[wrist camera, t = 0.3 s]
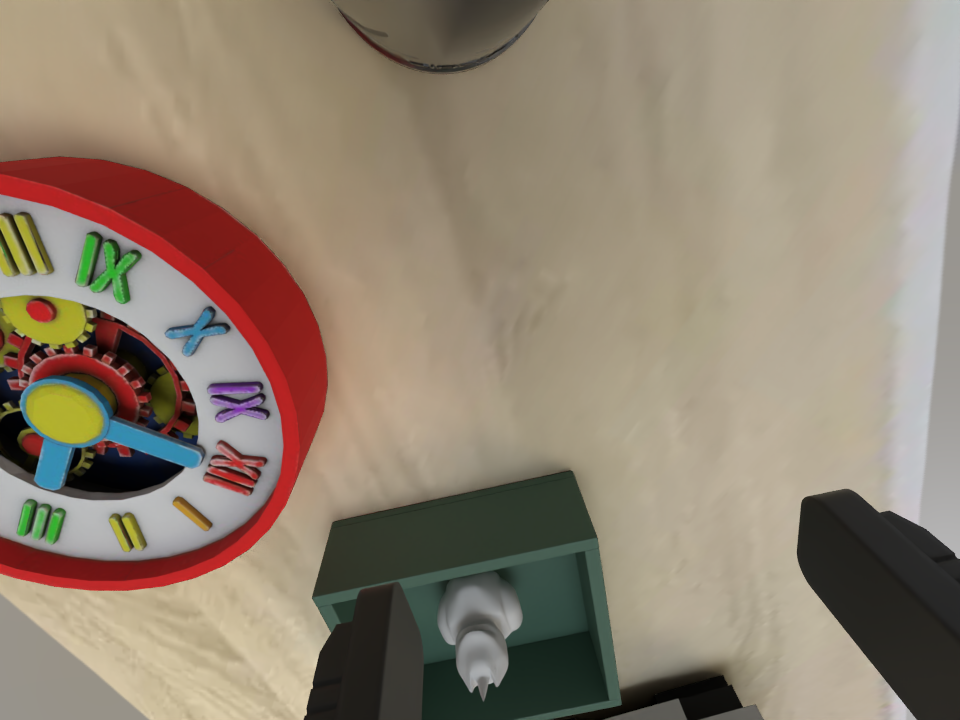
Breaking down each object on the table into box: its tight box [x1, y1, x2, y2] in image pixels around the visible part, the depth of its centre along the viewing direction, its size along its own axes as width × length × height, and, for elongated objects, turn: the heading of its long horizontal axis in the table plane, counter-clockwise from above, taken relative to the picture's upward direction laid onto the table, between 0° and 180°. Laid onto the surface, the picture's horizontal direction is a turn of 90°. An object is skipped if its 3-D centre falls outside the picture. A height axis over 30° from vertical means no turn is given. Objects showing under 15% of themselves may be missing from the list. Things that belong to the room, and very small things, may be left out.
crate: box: [312, 471, 622, 720], centre depth 32 cm, size 16×16×6 cm
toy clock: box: [0, 157, 328, 591], centre depth 23 cm, size 20×6×20 cm
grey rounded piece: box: [437, 571, 523, 702], centre depth 30 cm, size 5×7×8 cm
